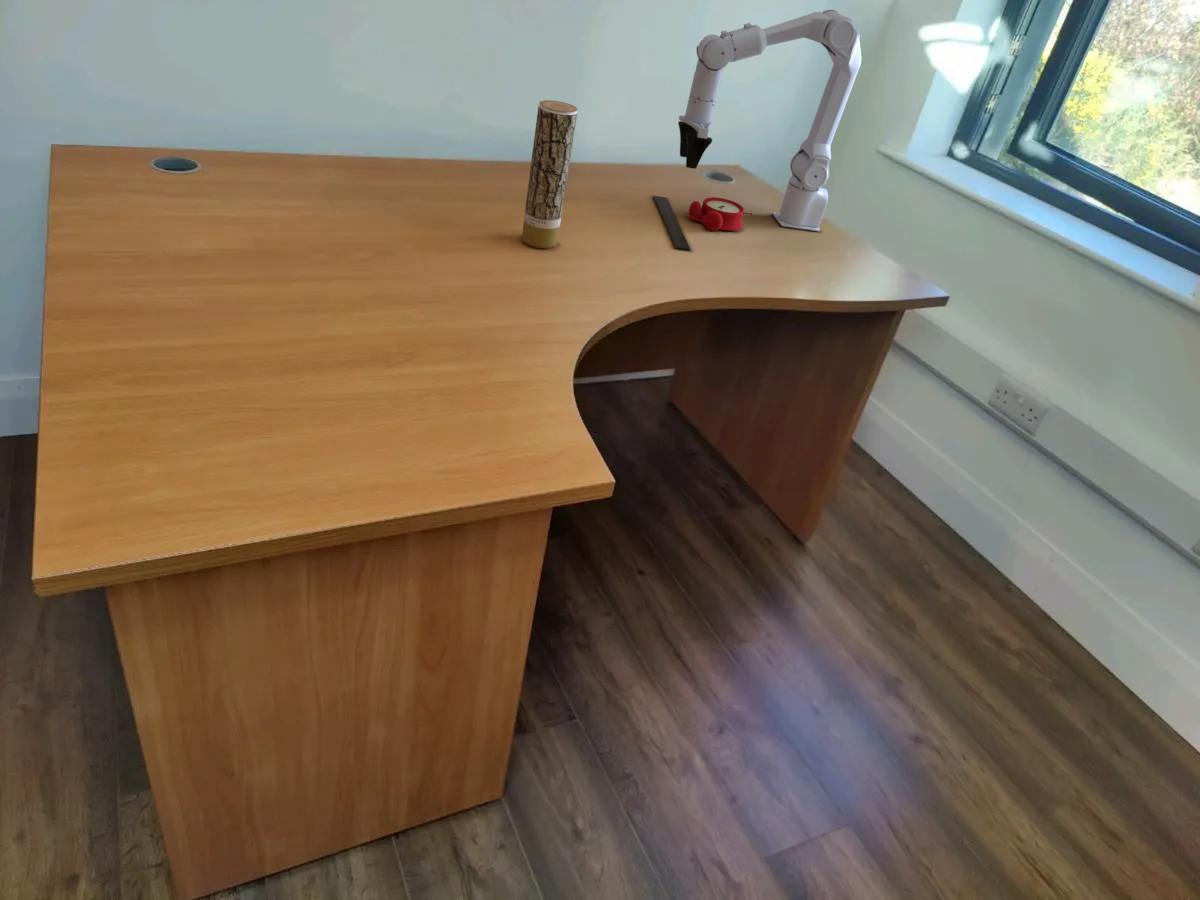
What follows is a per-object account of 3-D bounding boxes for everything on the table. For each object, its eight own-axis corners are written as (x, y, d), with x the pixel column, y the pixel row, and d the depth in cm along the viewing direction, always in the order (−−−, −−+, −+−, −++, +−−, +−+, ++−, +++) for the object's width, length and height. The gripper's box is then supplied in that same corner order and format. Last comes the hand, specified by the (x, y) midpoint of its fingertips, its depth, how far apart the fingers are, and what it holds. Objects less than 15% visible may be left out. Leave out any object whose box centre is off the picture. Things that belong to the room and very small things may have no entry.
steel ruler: (665, 199, 193) (666, 197, 192) (689, 250, 169) (690, 249, 168) (653, 197, 192) (653, 195, 192) (675, 249, 168) (676, 247, 168)
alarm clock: (759, 213, 184) (718, 203, 174) (747, 240, 187) (706, 232, 176) (726, 196, 190) (684, 185, 180) (715, 222, 193) (673, 213, 182)
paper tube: (551, 253, 155) (572, 114, 141) (516, 244, 156) (534, 105, 141) (560, 241, 161) (581, 106, 146) (527, 232, 161) (544, 97, 147)
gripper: (678, 86, 181) (664, 149, 189) (690, 103, 170) (675, 170, 177) (709, 91, 183) (694, 154, 190) (723, 109, 171) (707, 174, 179)
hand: (687, 162), depth 184 cm, fingers open, 7 cm apart
